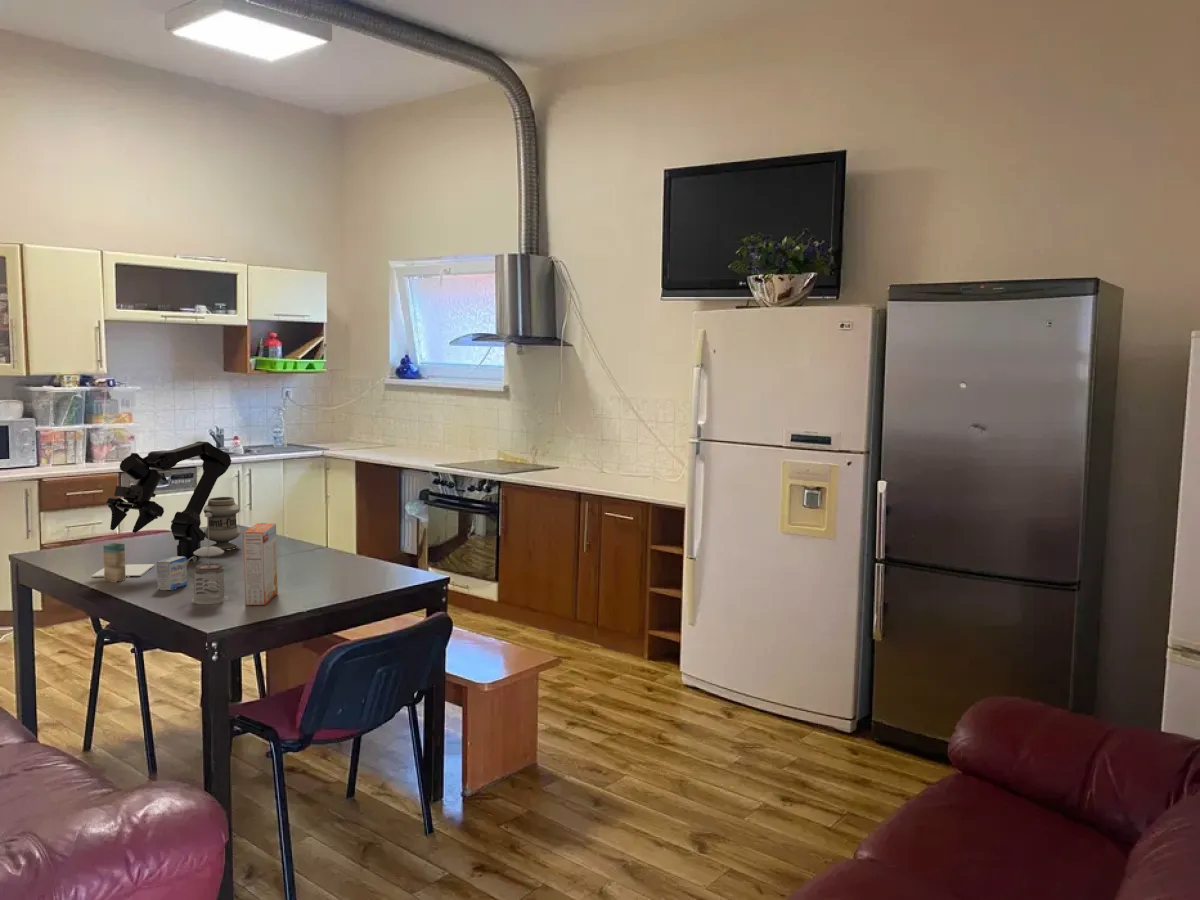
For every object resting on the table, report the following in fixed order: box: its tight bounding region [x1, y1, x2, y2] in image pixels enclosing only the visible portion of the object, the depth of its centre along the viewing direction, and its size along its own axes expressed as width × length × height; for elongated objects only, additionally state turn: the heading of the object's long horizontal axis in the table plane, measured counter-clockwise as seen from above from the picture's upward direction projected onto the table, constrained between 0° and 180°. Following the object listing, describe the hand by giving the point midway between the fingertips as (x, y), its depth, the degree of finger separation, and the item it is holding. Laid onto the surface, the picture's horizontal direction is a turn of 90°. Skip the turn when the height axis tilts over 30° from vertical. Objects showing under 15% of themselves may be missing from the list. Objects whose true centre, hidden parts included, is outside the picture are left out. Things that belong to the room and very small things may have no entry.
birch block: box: [103, 542, 127, 583], centre depth 284 cm, size 4×4×11 cm
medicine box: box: [156, 555, 188, 591], centre depth 278 cm, size 8×4×9 cm, turn 168°
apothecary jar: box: [203, 496, 242, 550], centre depth 333 cm, size 12×12×18 cm
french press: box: [184, 512, 229, 605], centre depth 264 cm, size 10×12×25 cm
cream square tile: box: [91, 563, 156, 579], centre depth 296 cm, size 14×15×1 cm
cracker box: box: [242, 522, 279, 607], centre depth 266 cm, size 14×6×21 cm, turn 5°
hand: (122, 531), depth 291 cm, fingers open, 9 cm apart
